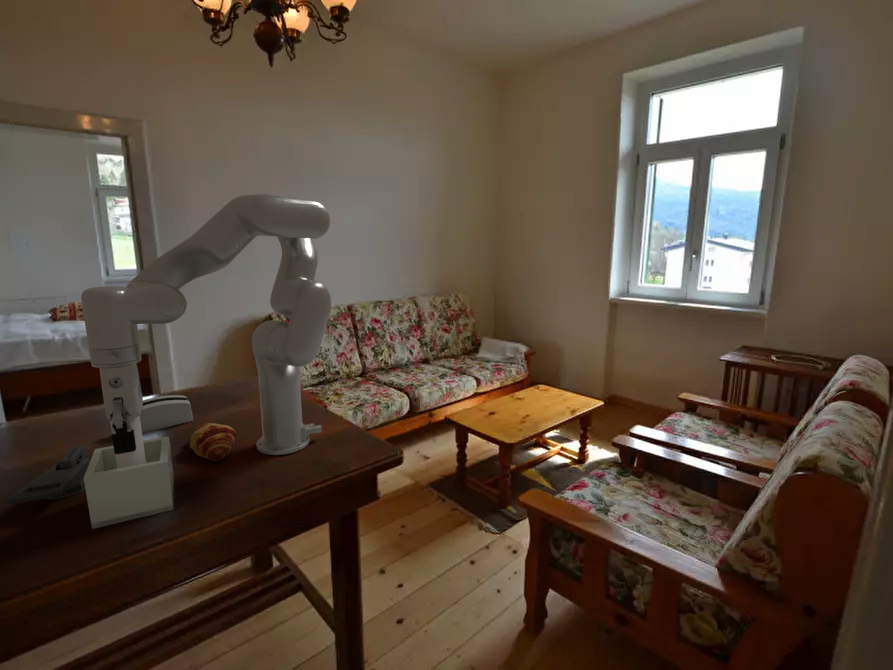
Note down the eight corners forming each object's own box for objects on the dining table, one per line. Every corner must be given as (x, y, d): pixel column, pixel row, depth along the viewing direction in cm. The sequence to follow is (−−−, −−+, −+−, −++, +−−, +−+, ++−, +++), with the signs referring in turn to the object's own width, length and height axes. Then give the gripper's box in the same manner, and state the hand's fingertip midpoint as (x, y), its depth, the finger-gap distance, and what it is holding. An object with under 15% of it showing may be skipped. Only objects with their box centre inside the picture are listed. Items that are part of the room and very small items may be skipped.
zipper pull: (-1, 501, 78) (53, 441, 100) (6, 535, 79) (58, 468, 101) (64, 490, 81) (103, 434, 103) (70, 523, 82) (107, 461, 105)
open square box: (173, 479, 97) (168, 436, 95) (173, 509, 87) (167, 461, 85) (102, 494, 91) (95, 449, 89) (92, 529, 81) (83, 477, 79)
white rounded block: (189, 415, 132) (189, 387, 127) (194, 425, 129) (194, 397, 124) (119, 431, 121) (116, 401, 116) (123, 442, 118) (120, 412, 113)
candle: (124, 516, 83) (105, 385, 78) (107, 503, 87) (87, 378, 81) (165, 498, 89) (149, 375, 84) (147, 487, 93) (131, 369, 87)
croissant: (196, 447, 120) (177, 425, 116) (231, 423, 124) (214, 401, 120) (209, 481, 103) (187, 456, 99) (249, 452, 107) (229, 427, 103)
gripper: (136, 363, 77) (149, 456, 81) (143, 342, 92) (153, 422, 96) (81, 369, 74) (96, 466, 77) (97, 346, 88) (110, 428, 92)
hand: (128, 441), depth 86 cm, fingers open, 9 cm apart
